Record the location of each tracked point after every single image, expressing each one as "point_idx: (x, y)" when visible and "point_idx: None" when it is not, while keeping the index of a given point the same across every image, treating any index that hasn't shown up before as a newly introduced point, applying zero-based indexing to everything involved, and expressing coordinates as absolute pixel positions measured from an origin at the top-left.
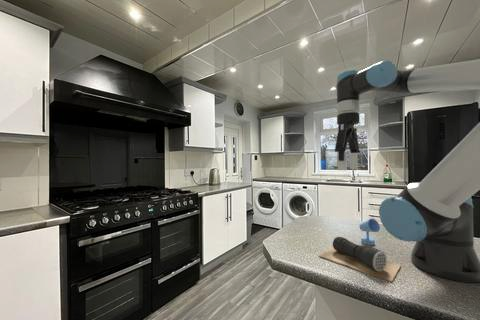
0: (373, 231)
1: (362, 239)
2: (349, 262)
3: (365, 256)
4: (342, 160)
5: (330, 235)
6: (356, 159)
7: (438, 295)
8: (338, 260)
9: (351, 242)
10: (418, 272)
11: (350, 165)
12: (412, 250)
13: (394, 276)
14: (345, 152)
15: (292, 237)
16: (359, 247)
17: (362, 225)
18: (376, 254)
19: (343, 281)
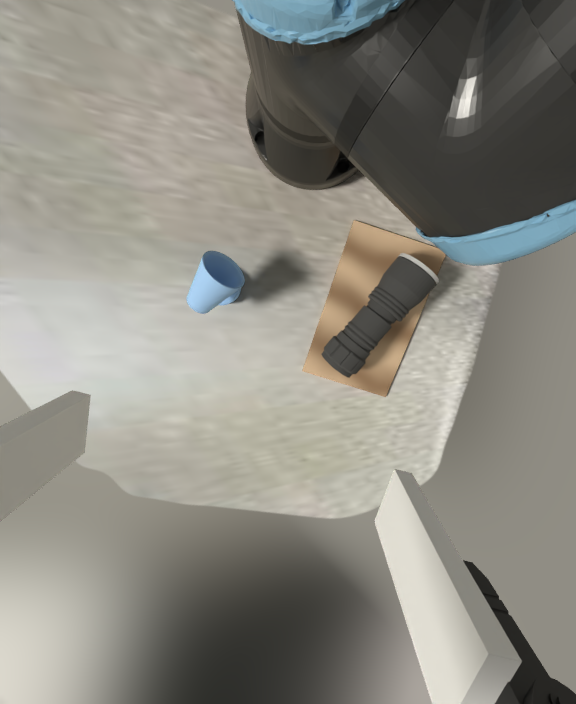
0: (242, 272)
1: (232, 301)
2: (393, 331)
3: (421, 301)
4: (474, 570)
5: (215, 385)
6: (3, 450)
7: None
8: (393, 354)
9: (365, 334)
10: (369, 186)
11: (58, 465)
12: (303, 177)
13: (422, 243)
14: (511, 653)
15: (289, 472)
16: (398, 315)
17: (216, 304)
18: (435, 277)
19: (479, 339)
